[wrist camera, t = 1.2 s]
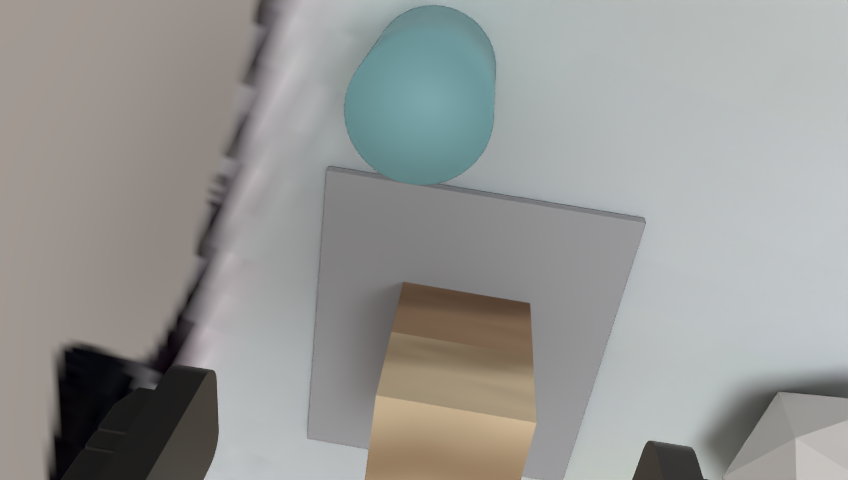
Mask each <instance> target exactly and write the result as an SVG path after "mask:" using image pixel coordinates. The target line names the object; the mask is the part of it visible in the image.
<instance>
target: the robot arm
mask: <svg viewBox="0 0 848 480" xmlns="http://www.w3.org/2000/svg"><path fill="white" fill-rule="evenodd" d="M218 433H219V426H218V402H217V379H216V373H215V371H214V370H209V369H203V368H196V367H190V366H184V365H177V364H174V365H172V366H171V367H170V368H169V369H168V370H167V372H166V373H165V375H164V376H163V378H162V379H161V381H160V382H159V384H158V386H157V387H156V389H155V390H152V389H146V388H140V387H139V388H137V389H136V390H134V391H133V392H132V393H130V394H129V395H127V396H126V397H125V398H123V399H122V400H120V401H119V402H118V403H116V404H115V405H114V406H113V407H112V409H111V410H110V411H109V413H108V414H107V416H106V417H105V418H104V420H103V421H102V423H101V424H100V425H99V427H98V431H97V432H96V431H95V432H94V434H93V435H92V437H91V438H90V439H89V441H88V442H87V444H86V446H85V449H84V450H82V451H81V452H80V454H79V455H78V456H77V458H76V459H75V461H74V462H73V463H72V465H71V466H70V468H69V469H68V470H67V472H66V473H65V475H64V476H63V477H62V479H61V480H204V477H205V475H206V473H207V471H208V469H209V467H210V465H211V463H212V460H213V457H214V454H215V451H216V447H217V441H218ZM632 480H707V479H703V476H702V473H701V470H700V466H699V463H698V460H697V457H696V454H695V452H694V450H693V449H692V448H691V447H688V446H681V445H675V444H669V443H662V442H656V441H648V442H647V443H646V445H645V447H644V449H643V452H642V455H641V457H640V460H639V463H638V466H637V468H636V471H635V474H634V477H633V479H632Z"/></svg>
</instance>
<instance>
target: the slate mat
mask: <svg viewBox="0 0 848 480" xmlns="http://www.w3.org/2000/svg"><path fill="white" fill-rule="evenodd" d="M645 224H646V222H645V219H644V218H641V217H635V216H629V215H623V214H617V213H611V212H605V211H598V210H592V209H586V208H580V207H574V206H568V205H562V204H556V203H550V202H544V201H538V200H532V199H526V198H520V197H514V196H508V195H502V194H496V193H489V192H483V191H477V190H471V189H465V188H459V187H453V186H447V185H441V184H430V185H414V184H407V183H403V182H399V181H396V180H393V179H391V178H389V177H387V176H385V175H380V174H374V173H368V172H362V171H356V170H350V169H344V168H338V167H332V166H329V167H328V169H327V171H326V185H325V199H324V213H323V226H322V240H321V254H320V268H319V282H318V296H317V309H316V323H315V337H314V351H313V365H312V379H311V392H310V406H309V420H308V434H307V439H313V440H318V441H324V442H330V443H335V444H341V445H347V446H353V447H358V448H364V449H369V444H370V437H371V429H372V422H373V414H374V406H375V399H376V393H377V389H378V385H379V381H380V376H381V372H382V368H383V364H384V360H385V356H386V352H387V348H388V343H389V339H390V335H391V331H392V327H393V323H394V319H395V314H396V310H397V306H398V302H399V298H400V294H401V290H402V286H403V282H408V283H414V284H420V285H426V286H432V287H438V288H444V289H449V290H455V291H461V292H467V293H473V294H479V295H485V296H491V297H497V298H503V299H509V300H515V301H521V302H526V303H530V308H531V327H532V346H533V365H534V384H535V402H536V421H537V423H536V427H535V430H534V434H533V438H532V441H531V445H530V448H529V452H528V455H527V459H526V462H525V466H524V469H523V473H522V476H524V477H530V478H535V479H541V480H563V478H564V475H565V472H566V469H567V466H568V463H569V460H570V457H571V453H572V450H573V447H574V444H575V441H576V438H577V435H578V432H579V429H580V426H581V423H582V419H583V416H584V413H585V410H586V407H587V404H588V401H589V398H590V395H591V392H592V388H593V385H594V382H595V379H596V376H597V373H598V370H599V367H600V364H601V361H602V358H603V354H604V351H605V348H606V345H607V342H608V339H609V336H610V333H611V330H612V327H613V323H614V320H615V317H616V314H617V311H618V308H619V305H620V302H621V299H622V296H623V293H624V289H625V286H626V283H627V280H628V277H629V274H630V271H631V268H632V265H633V262H634V258H635V255H636V252H637V249H638V246H639V243H640V240H641V237H642V234H643V231H644V228H645Z"/></svg>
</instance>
